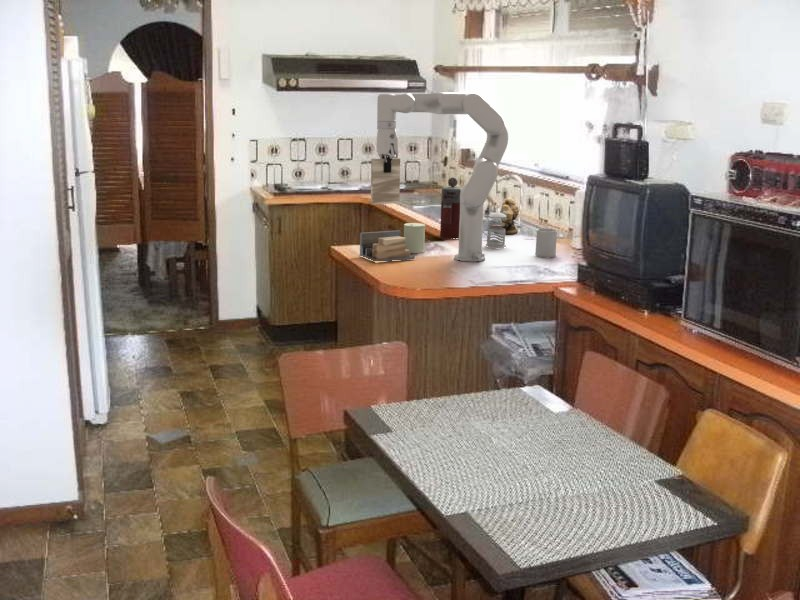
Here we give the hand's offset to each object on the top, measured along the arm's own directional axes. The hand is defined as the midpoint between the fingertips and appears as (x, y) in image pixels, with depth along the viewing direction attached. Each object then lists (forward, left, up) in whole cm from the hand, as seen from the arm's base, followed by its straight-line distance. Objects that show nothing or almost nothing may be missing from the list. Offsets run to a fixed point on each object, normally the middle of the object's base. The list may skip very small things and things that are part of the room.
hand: (385, 171), depth 360 cm
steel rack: (-3, 0, -35) cm, 35 cm away
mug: (-21, -67, -35) cm, 78 cm away
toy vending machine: (+31, -50, -35) cm, 69 cm away
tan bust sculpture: (+35, -84, -35) cm, 98 cm away
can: (+7, -18, -35) cm, 40 cm away
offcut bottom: (-6, 0, -33) cm, 34 cm away
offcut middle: (-6, +1, -31) cm, 32 cm away
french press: (+4, -57, -35) cm, 67 cm away
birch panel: (0, 0, -13) cm, 13 cm away
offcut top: (-6, 0, -28) cm, 29 cm away
